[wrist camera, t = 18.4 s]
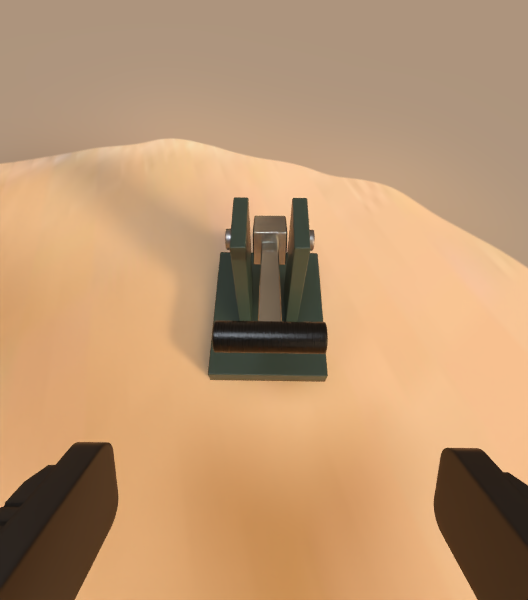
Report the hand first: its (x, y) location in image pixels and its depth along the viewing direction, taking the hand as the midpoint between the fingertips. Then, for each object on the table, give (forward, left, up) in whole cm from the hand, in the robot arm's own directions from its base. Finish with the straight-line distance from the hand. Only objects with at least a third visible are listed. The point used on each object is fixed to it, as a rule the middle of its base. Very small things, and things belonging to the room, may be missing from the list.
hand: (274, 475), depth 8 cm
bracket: (-11, +10, -20) cm, 25 cm away
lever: (-8, +7, -8) cm, 13 cm away
